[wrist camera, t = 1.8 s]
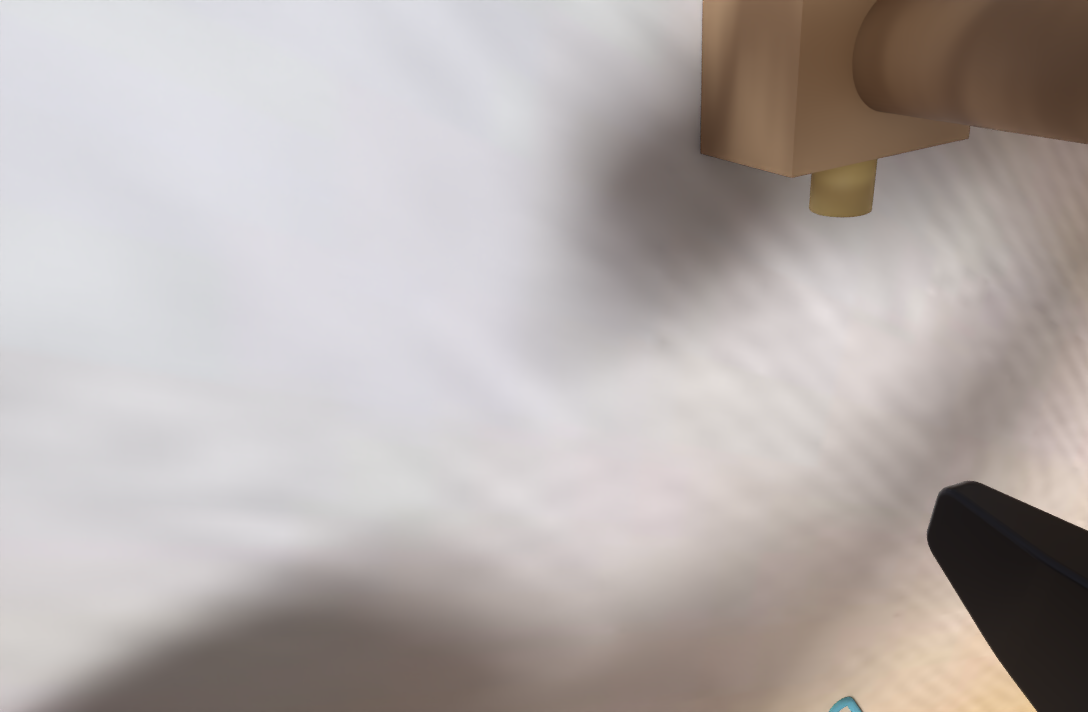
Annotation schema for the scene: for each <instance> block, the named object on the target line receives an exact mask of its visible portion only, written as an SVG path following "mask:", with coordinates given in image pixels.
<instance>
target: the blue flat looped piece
mask: <svg viewBox="0 0 1088 712" xmlns="http://www.w3.org/2000/svg"><path fill="white" fill-rule="evenodd" d="M846 706H848V708H849V709H850V710H851V712H862V711H861V710H860V708H859V707H858V705H857V704H856V702H855V701H854V699H852V698H851V697H845V698H842V699H841V700H839V701H838V702H837V703H836V704H835V705H834V706H833V707H832V708H831V709H830V711H829V712H839V711H840V710H841V709H842V708H844V707H846Z"/></svg>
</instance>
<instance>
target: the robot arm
mask: <svg viewBox="0 0 1088 712" xmlns="http://www.w3.org/2000/svg"><path fill="white" fill-rule="evenodd" d="M927 541H928V545H929V547H930V550H931V552H932V554H933V555H934V557H935V559H936V560H937V562H938V563H939V565H940V567H941V568H942V570H943V572H944V573H945V575H946V576H947V578H948V580H949V581H950V583H951V585H952V586H953V588H954V589H955V591H956V593H957V594H958V596H959V598H960V599H961V601H962V602H963V604H964V606H965V607H966V609H967V611H968V612H969V614H970V615H971V617H972V619H973V620H974V622H975V624H976V625H977V627H978V628H979V630H980V632H981V633H982V635H983V637H984V638H985V640H986V641H987V643H988V644H989V646H990V648H991V649H992V651H993V652H994V654H995V655H996V657H997V658H998V660H999V661H1000V662H1001V664H1002V665H1003V667H1004V668H1005V669H1006V671H1007V672H1008V673H1009V675H1010V676H1011V678H1012V679H1013V680H1014V682H1015V683H1016V684H1017V685H1018V687H1019V688H1020V689H1021V691H1022V692H1023V693H1024V695H1025V696H1026V697H1027V699H1028V700H1029V701H1030V703H1031V704H1032V705H1033V707H1034V708H1035V709H1036V711H1037V712H1088V531H1087V530H1085V529H1083V528H1081V527H1078V526H1076V525H1074V524H1072V523H1069V522H1067V521H1065V520H1063V519H1060V518H1058V517H1056V516H1054V515H1051V514H1049V513H1047V512H1045V511H1042V510H1040V509H1038V508H1036V507H1033V506H1031V505H1029V504H1027V503H1024V502H1022V501H1020V500H1018V499H1015V498H1013V497H1011V496H1009V495H1006V494H1004V493H1002V492H1000V491H997V490H995V489H993V488H991V487H988V486H986V485H984V484H981V483H979V482H975V481H965V482H961V483H958V484H955V485H952V486H949V487H945V488H943V489H942V490H941V491H940V492H939V494H938V496H937V499H936V502H935V506H934V509H933V512H932V516H931V519H930V523H929V526H928V529H927Z"/></svg>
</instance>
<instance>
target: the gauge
mask: <svg viewBox="0 0 1088 712" xmlns="http://www.w3.org/2000/svg"><path fill="white" fill-rule="evenodd" d="M970 126H975V127H981V128H988V129H994V130H1000V131H1007V132H1013V133H1020V134H1026V135H1033V136H1039V137H1045V138H1052V139H1058V140H1065V141H1071V142H1077V143H1084V144H1088V0H703V18H702V86H701V154H704V155H708V156H712V157H716V158H719V159H723V160H727V161H731V162H734V163H738V164H742V165H745V166H749V167H753V168H757V169H760V170H764V171H768V172H772V173H775V174H779V175H783V176H787V177H790V178H793V177H798V176H802V175H807V174H811V173H812V175H811V188H810V202H809V209H810V211H812V212H813V213H816V214H819V215H823V216H830V217H855V216H861V215H865V214H868V213H870V212H871V211H872V204H873V194H874V185H875V176H876V167H877V159H878V158H883V157H887V156H892V155H896V154H901V153H905V152H910V151H914V150H919V149H923V148H928V147H932V146H937V145H941V144H946V143H950V142H955V141H959V140H964V139H968V138H969V131H970Z"/></svg>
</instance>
